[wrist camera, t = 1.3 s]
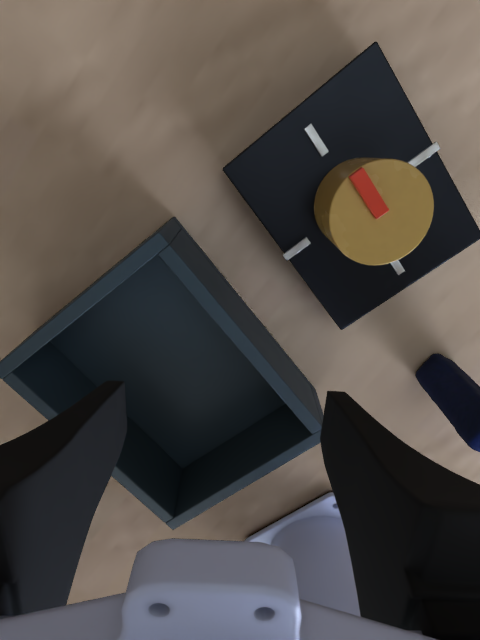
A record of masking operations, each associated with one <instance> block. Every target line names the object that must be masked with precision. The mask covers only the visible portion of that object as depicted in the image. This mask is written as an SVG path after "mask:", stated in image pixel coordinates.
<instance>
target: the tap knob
mask: <svg viewBox="0 0 480 640" xmlns="http://www.w3.org/2000/svg"><path fill="white" fill-rule="evenodd" d="M433 211H434V200H433V194H432V190H431V187H430V185H429V183H428V181H427V179H426V178H425V176H424V175H423V174H422V173H421V172H420V171H419V170H418V169H417V168H416V167H414V166H413V165H411V164H409V163H407V162H404V161H401V160H397V159H385V158H354V159H350V160H347V161H344V162H342V163H340V164H338V165H337V166H336V167H334V168H333V169H332V170H331V171H329V173H328V174H327V175H326V176H325V177H324V179H323V180H322V181H321V183H320V185H319V187H318V190H317V192H316V196H315V201H314V214H315V219H316V222H317V224H318V227H319V228H320V230H321V232H322V233H323V234H324V235H325V236H326V237H327V238H328V239H329V240H330V241H331V242H332V243H333V244H334V245H335V246H336V247H337V248H338V249H339V250H340V251H341V252H342V253H343V254H344V255H345V256H347V257H348V258H350V259H351V260H353V261H355V262H358V263H361V264H365V265H374V266H375V265H384V264H389V263H392V262H395V261H397V260H399V259H401V258H403V257H404V256H406V255H408V254H409V253H410V252H411V251H413V250H414V249H415V248H416V247H417V246H418V245H419V243H420V242H421V241H422V240H423V238H424V237H425V235H426V233H427V231H428V229H429V227H430V224H431V221H432V217H433Z"/></svg>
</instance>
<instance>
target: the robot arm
mask: <svg viewBox="0 0 480 640" xmlns="http://www.w3.org/2000/svg"><path fill="white" fill-rule="evenodd" d="M126 432H127V415H126V398H125V381H109V380H107V381H106V382H104V383H103V384H101V385H100V386H98V387H97V388H96V389H94V390H93V391H92V392H90V393H89V394H88V395H86V396H85V397H83V398H82V399H81V400H79V401H78V402H76V403H75V404H74V405H72V406H71V407H69V408H68V409H66V410H65V411H63V412H62V413H60V414H58V415H57V416H55V417H54V418H52V419H51V420H49V421H47V422H46V423H44V424H42V425H41V426H39V427H37V428H35V429H33V430H31V431H30V432H28V433H26V434H24V435H22V436H20V437H18V438H16V439H13V440H11V441H9V442H6V443H4V444H2V445H0V640H480V485H479V484H477V483H475V482H473V481H470V480H468V479H466V478H464V477H462V476H460V475H458V474H456V473H454V472H452V471H450V470H448V469H446V468H444V467H443V466H441V465H439V464H437V463H435V462H433V461H432V460H430V459H428V458H427V457H425V456H423V455H422V454H420V453H419V452H417V451H416V450H414V449H413V448H411V447H410V446H408V445H407V444H405V443H404V442H403V441H401V440H400V439H399V438H397V437H396V436H395V435H393V434H392V433H391V432H390V431H388V430H387V429H386V428H385V427H383V426H382V425H381V424H380V423H379V422H378V421H376V420H375V419H374V418H373V417H372V416H371V415H370V414H369V413H367V412H366V411H365V410H364V409H363V408H362V407H361V406H360V405H359V404H358V403H357V402H355V401H354V400H353V399H352V398H351V397H350V396H349V395H348V394H347V393H345V392H337V391H327V397H326V404H325V410H324V416H323V423H322V429H321V435H320V441H321V447H322V453H323V459H324V464H325V467H326V471H327V474H328V477H329V480H330V484H331V487H332V490H333V492H330V493H327V494H325V495H324V496H322V497H320V498H318V499H316V500H315V501H313V502H311V503H309V504H307V505H306V506H304V507H302V508H300V509H298V510H297V511H295V512H293V513H291V514H289V515H288V516H286V517H284V518H282V519H280V520H279V521H277V522H275V523H273V524H271V525H270V526H268V527H266V528H264V529H262V530H261V531H259V532H257V533H255V534H253V535H252V536H250V537H248V538H246V539H245V541H224V540H200V539H175V538H172V539H165V540H159V541H153V542H151V543H150V544H148V545H147V546H145V547H144V548H142V549H141V550H140V551H138V552H137V555H136V558H135V561H134V564H133V567H132V571H131V575H130V579H129V582H128V586H127V590H126V593H121V594H117V595H112V596H107V597H102V598H98V599H93V600H88V601H83V602H79V603H74V604H69V605H66V603H67V600H68V596H69V593H70V589H71V586H72V582H73V579H74V575H75V572H76V569H77V565H78V562H79V559H80V555H81V552H82V549H83V546H84V543H85V539H86V536H87V533H88V530H89V527H90V524H91V521H92V518H93V516H94V513H95V511H96V508H97V506H98V504H99V501H100V499H101V497H102V495H103V492H104V490H105V488H106V486H107V483H108V481H109V479H110V477H111V474H112V472H113V470H114V468H115V465H116V463H117V461H118V458H119V456H120V453H121V450H122V447H123V443H124V440H125V436H126ZM335 503H337V504H335Z"/></svg>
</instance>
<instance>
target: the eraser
mask: <svg viewBox="0 0 480 640" xmlns="http://www.w3.org/2000/svg"><path fill="white" fill-rule="evenodd" d="M416 378H417V379H418V381H419V383H420V385H421V386H422V387H423V389H424V390H425V391H426V392H427V393H428V394H429V396H430V397H431V399H432V400H433V401H434V402H435V403H436V404H437V406H438V407H439V409H440V410H441V411H442V412H443V413H444V415H445V416H446V417H447V419H448V420H449V421H450V423H451V424H452V425H453V426H454V427H455V430H456V431H457V433H458V434H459V435H460V437H462V439H463V440H464V441H465V442H466V443H467V445H468V446H469V447H471V448H472V449H473V450H476V451H478V452H480V387H479V386H478V384H476V383H475V382H474V381H473V380H472V379H471V378H470V377H469V376H468V375H467V374H466V373H465V372H464V371H463V370H462V369H460V368H459V367H458V366H457V364H456V363H455V362H453V361H452V360H450V359H448V358H446V357H444V356H443V355H441V354H433V355H431V356H430V358H429V359H428V360H427V361H426V362H424V363H423V365H422V366H421V368H420V369H419V370H418V371H417V372H416Z"/></svg>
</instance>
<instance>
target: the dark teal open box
mask: <svg viewBox="0 0 480 640" xmlns="http://www.w3.org/2000/svg"><path fill="white" fill-rule="evenodd" d="M0 378H1V379H3V381H4V382H6V383H7V384H8V385H9V386H10V387H11V388H12V389H14V390H15V391H16V392H17V393H18V394H19V395H20V396H22V397H23V398H24V399H25V400H26V401H27V402H28V403H29V404H31V405H32V406H33V407H34V408H35V409H36V410H37V411H39V412H40V413H41V414H42V415H43V416H44V417H45V418H47V419H48V420H51V419H52V418H54V417H55V416H57V415H58V414H60V413H62V412H63V411H65V410H66V409H68V408H69V407H71V406H72V405H74V404H75V403H76V402H78V401H79V400H81V399H82V398H83V397H85V396H86V395H88V394H89V393H90V392H92V391H93V390H94V389H96V388H97V387H98V386H100V385H101V384H103V383H104V382H106V381H107V380H109V381H125V398H126V415H127V432H126V436H125V440H124V443H123V447H122V450H121V453H120V456H119V458H118V461H117V463H116V465H115V468H114V470H113V472H112V474H111V476H112V477H113V478H115V479H116V480H117V481H118V482H119V483H120V484H121V485H123V486H124V487H125V488H126V489H127V490H128V491H129V492H131V493H132V494H133V495H134V496H135V497H136V498H137V499H138V500H140V501H141V502H142V503H143V504H144V505H145V506H146V507H148V508H149V509H150V510H151V511H152V512H153V513H154V514H156V515H157V516H158V517H159V518H160V519H161V520H162V521H163V522H166V524H167V525H168V526H169V527H170V528H171V529H173V530H174V529H175V528H177V527H179V526H180V525H182V524H184V523H185V522H187V521H189V520H191V519H192V518H194V517H196V516H197V515H199V514H201V513H202V512H204V511H206V510H207V509H209V508H211V507H212V506H214V505H216V504H217V503H219V502H221V501H223V500H224V499H226V498H228V497H229V496H231V495H233V494H234V493H236V492H238V491H239V490H241V489H243V488H244V487H246V486H248V485H250V484H251V483H253V482H255V481H256V480H258V479H260V478H261V477H263V476H265V475H266V474H268V473H270V472H271V471H273V470H275V469H276V468H278V467H280V466H282V465H283V464H285V463H287V462H288V461H290V460H292V459H293V458H295V457H297V456H298V455H300V454H302V453H303V452H305V451H307V450H308V449H310V448H312V447H314V446H315V445H317V444H319V443H320V442H321V441H320V435H321V429H322V423H323V416H324V415H323V412H322V409H321V406H320V402H319V399H318V396H317V393H316V390H315V388H314V387H313V386H312V385H311V383H310V382H309V381H308V380H307V378H306V377H305V376H304V375H303V374H302V372H301V371H300V370H299V369H298V367H297V366H296V365H295V364H294V363H293V361H292V360H291V359H290V358H289V356H288V355H287V354H286V353H285V351H284V350H283V349H282V348H281V347H280V345H279V344H278V343H277V342H276V340H275V339H274V338H273V337H272V335H271V334H270V333H269V332H268V331H267V329H266V328H265V327H264V326H263V324H262V323H261V322H260V321H259V319H258V318H257V317H256V316H255V315H254V313H253V312H252V311H251V310H250V308H249V307H248V306H247V305H246V304H245V302H244V301H243V300H242V299H241V297H240V296H239V295H238V294H237V292H236V291H235V290H234V289H233V288H232V286H231V285H230V284H229V283H228V281H227V280H226V279H225V278H224V276H223V275H222V274H221V273H220V272H219V270H218V269H217V268H216V267H215V265H214V264H213V263H212V262H211V260H210V259H209V258H208V257H207V256H206V254H205V253H204V252H203V251H202V249H201V248H200V247H199V246H198V245H197V243H196V242H195V241H194V240H193V238H192V237H191V236H190V235H189V233H188V232H187V231H186V230H185V229H184V227H183V226H182V225H181V224H180V222H179V221H178V220H177V219H176V217H173V218H171V219H170V220H169V221H168V222H166V223H165V224H164V225H163V226H162V227H160V228H159V229H158V230H157V231H156V232H154V233H153V234H152V235H151V236H149V237H148V238H147V239H146V240H145V241H143V242H142V243H141V244H140V245H139V246H137V247H136V248H135V249H134V250H133V251H131V252H130V253H129V254H128V255H126V256H125V257H124V258H123V259H122V260H120V261H119V262H118V263H117V264H116V265H114V266H113V267H112V268H111V269H110V270H108V271H107V272H106V273H105V274H103V275H102V276H101V277H100V278H99V279H97V280H96V281H95V282H94V283H93V284H91V285H90V286H89V287H88V288H86V289H85V290H84V291H83V292H82V293H80V294H79V295H78V296H77V297H76V298H74V299H73V300H72V301H71V302H70V303H68V304H67V305H66V306H65V307H63V308H62V309H61V310H60V311H59V312H57V313H56V314H55V315H54V316H53V317H51V318H50V319H49V320H48V321H47V322H45V323H44V324H43V325H42V326H40V327H39V328H38V329H37V330H36V331H34V332H33V333H32V334H31V335H30V336H29V337H28V338H26V339H25V340H24V341H23V342H22V343H21V344H20V345H18V346H17V347H16V348H15V349H14V350H13V351H11V352H10V353H9V354H8V355H7V356H6V357H5V358H3V359H2V360H1V361H0Z"/></svg>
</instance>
